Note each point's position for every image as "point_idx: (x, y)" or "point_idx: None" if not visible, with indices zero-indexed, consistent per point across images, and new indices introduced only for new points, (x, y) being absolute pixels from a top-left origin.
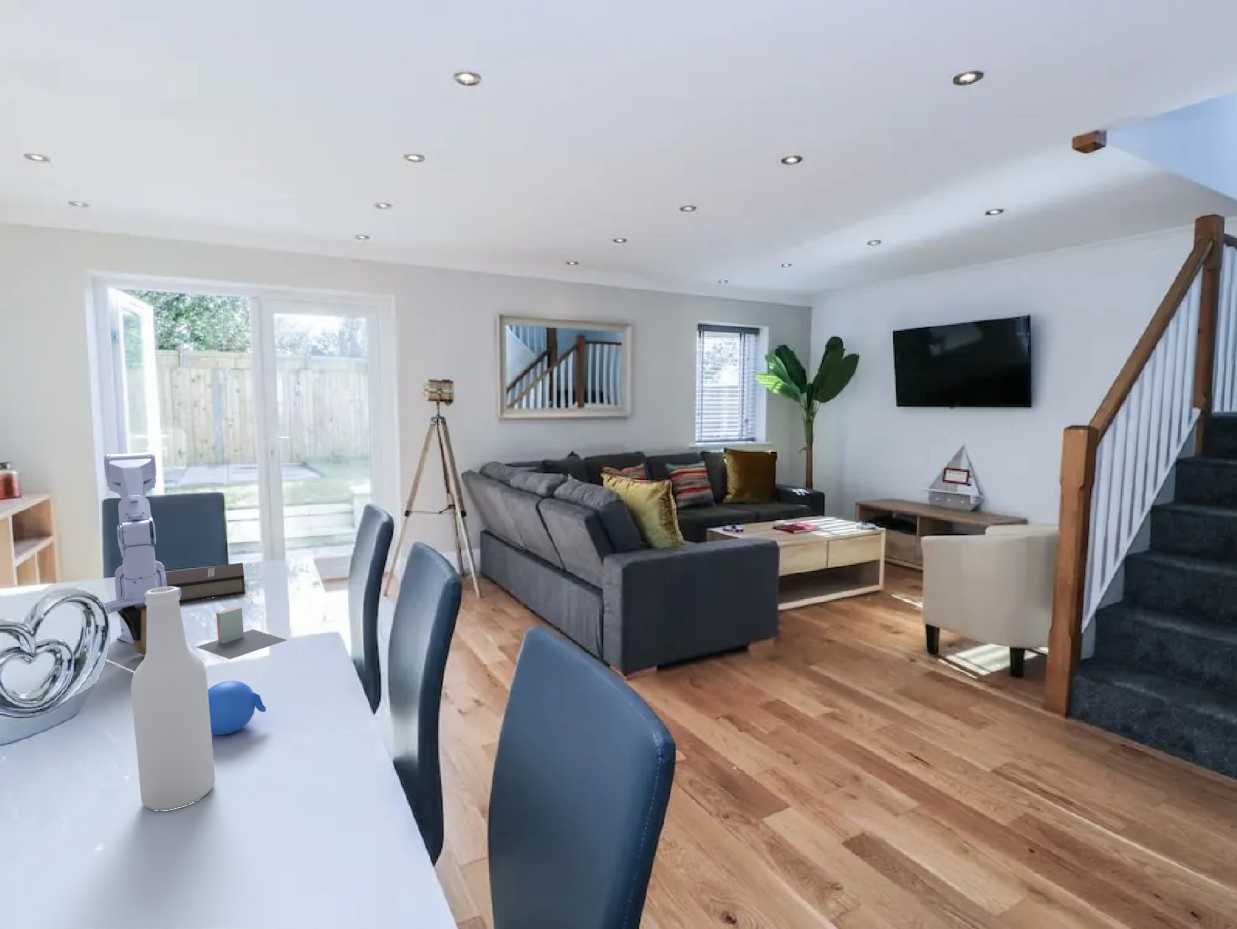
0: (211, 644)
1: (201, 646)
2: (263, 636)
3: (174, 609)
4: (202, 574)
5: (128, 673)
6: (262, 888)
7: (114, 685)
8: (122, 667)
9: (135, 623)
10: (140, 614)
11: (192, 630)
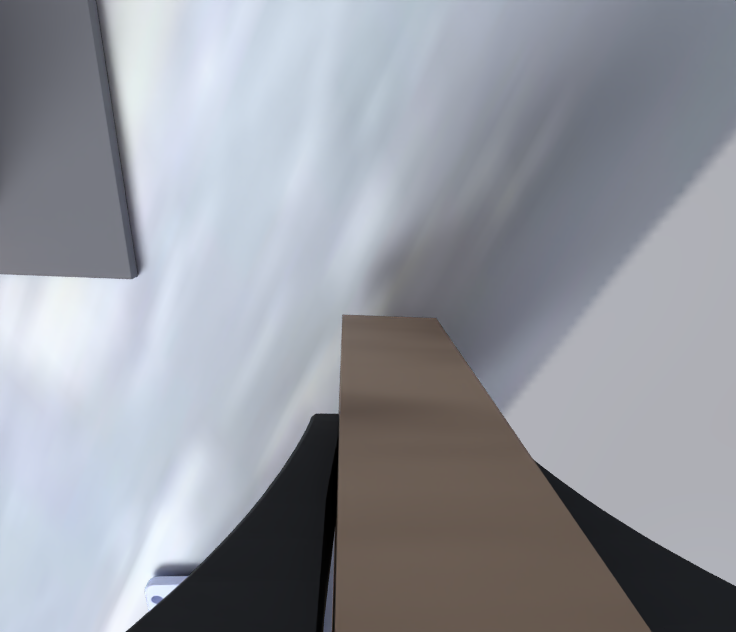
0: (39, 224)
1: (104, 251)
2: None
3: None
4: None
5: (557, 227)
6: None
7: (713, 97)
8: (511, 350)
9: (601, 532)
10: None
11: (51, 565)
